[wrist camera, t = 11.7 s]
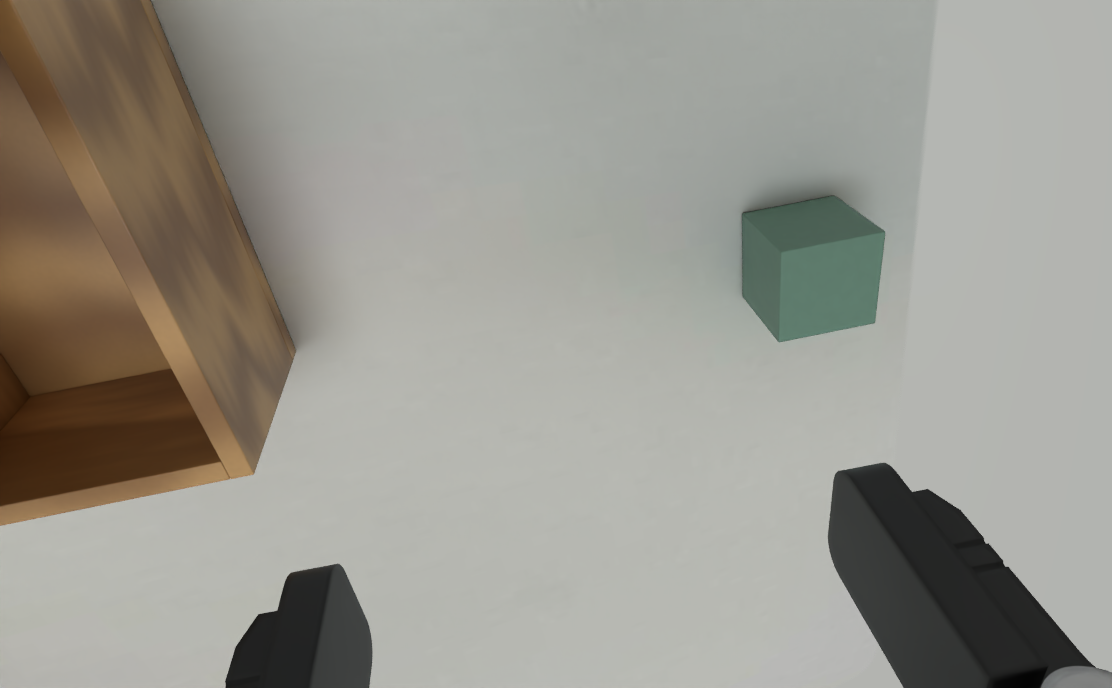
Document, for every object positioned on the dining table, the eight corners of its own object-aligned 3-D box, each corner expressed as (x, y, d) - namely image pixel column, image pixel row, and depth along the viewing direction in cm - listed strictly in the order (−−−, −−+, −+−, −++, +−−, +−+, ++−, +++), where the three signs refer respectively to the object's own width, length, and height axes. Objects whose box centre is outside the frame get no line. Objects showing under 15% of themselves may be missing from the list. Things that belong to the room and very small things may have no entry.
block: (834, 194, 33) (886, 231, 30) (828, 279, 36) (875, 323, 32) (741, 212, 33) (781, 251, 29) (742, 296, 36) (778, 343, 32)
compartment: (296, 351, 34) (254, 474, 26) (31, 403, 33) (-90, 544, 26) (135, -38, 25) (1, -19, 17) (-231, 26, 24) (-531, 73, 17)
